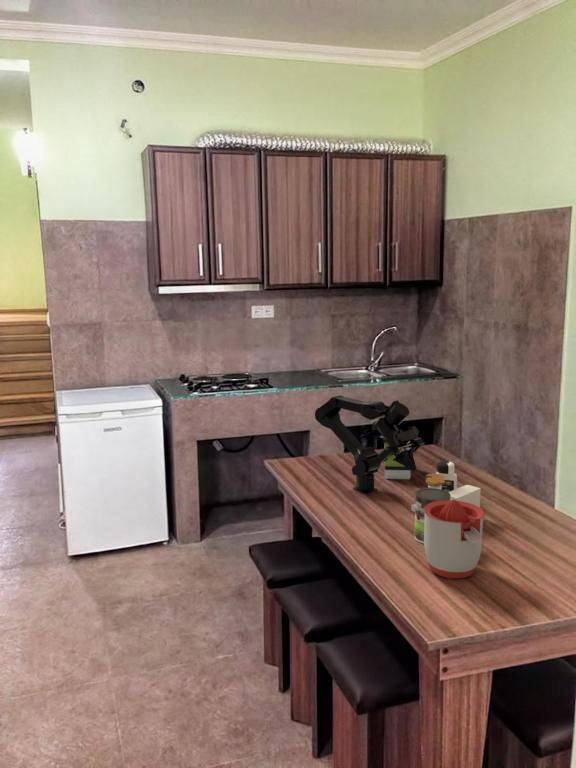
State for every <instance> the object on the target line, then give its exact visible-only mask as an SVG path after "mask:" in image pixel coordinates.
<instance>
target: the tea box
mask: <svg viewBox="0 0 576 768" xmlns="http://www.w3.org/2000/svg"><path fill="white" fill-rule="evenodd" d="M383 444H384V446H383V447H384V448H383V450H384V449H385V448H386V447H389V445H388V444H387V443H384V442H383ZM407 444H408V443H407ZM403 449H404V448H403ZM387 458H388V459H387V461H386V462H383V463H384V466H383V467H384V479H386V480H410V479H411V472H412V470H410V469H409V468H407V467H405V466H404V465H402V464H400V463H398V462H396V461H393V459H394V458H395V457H394V455H392V456H388V457H387Z"/></svg>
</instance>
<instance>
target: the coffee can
mask: <svg viewBox="0 0 576 768" xmlns="http://www.w3.org/2000/svg"><path fill="white" fill-rule="evenodd" d="M414 493H415V495H414V496H415V500H414V501H415V503H414V504H415V512H414V536H413V537H414V538H413V539H414V540H416V542H418V543H419V544H423V545H424V520H425V512H424V507H425V506H426V505H427V504H429V503H431V502H435V501H442V500H450V497H451V495H450V493H448V492H447V491H444V490H441V489H435V488H428V487H426V488H421V489H418V490H416V491H415V492H414Z"/></svg>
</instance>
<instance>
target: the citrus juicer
mask: <svg viewBox="0 0 576 768" xmlns="http://www.w3.org/2000/svg"><path fill="white" fill-rule="evenodd" d="M424 512H425V520H424V544H423V545H424V552H425V557H426V560H427V563H428V567H429V569H430V570H431V572H433V573H434V574H435V575H438V576H440V577H443V578H447V579H449V580H452V579H464V578H467V577H470V576H472V575H473V574H474V573H475V570H476V568H477V566H478V563H479V560H480V557H481V553H482V546H483V544H482V543H483V542H482V541H483V527H484V526H483V522H484V516H485V512H484V510H483V509H482V508H481V506H480V507H478V506H476V505H474V504H471V503H467V502H462V501H456V500H442V501H435V502H431V503H429V504H427V505H426V506H425V507H424Z"/></svg>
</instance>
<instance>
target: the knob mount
mask: <svg viewBox="0 0 576 768" xmlns="http://www.w3.org/2000/svg"><path fill="white" fill-rule="evenodd" d="M448 493H450V495H451V497H450V500H456V501H462V502H467V503H471V504H474V505H476V506H478V507H480V508H481V487H478V486H473V485H471V484H465V485H462V486H460V487H457V489H455V490H453V491H450V492H448ZM410 510H411V512H413V513H415V503H414V504H411V505H410Z"/></svg>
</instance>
